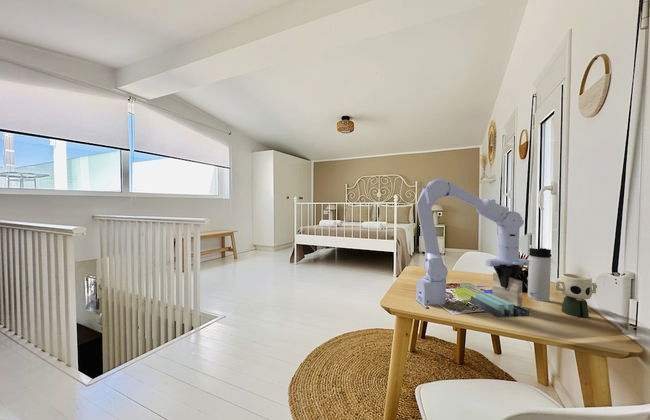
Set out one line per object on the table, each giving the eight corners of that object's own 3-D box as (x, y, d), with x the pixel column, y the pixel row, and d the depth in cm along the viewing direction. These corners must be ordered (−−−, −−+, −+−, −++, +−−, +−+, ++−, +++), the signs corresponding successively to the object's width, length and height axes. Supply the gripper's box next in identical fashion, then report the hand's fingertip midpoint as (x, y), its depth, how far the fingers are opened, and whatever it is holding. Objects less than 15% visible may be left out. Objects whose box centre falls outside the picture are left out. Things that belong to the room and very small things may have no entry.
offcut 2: (507, 313, 81) (508, 304, 81) (484, 301, 91) (484, 293, 91) (513, 313, 81) (513, 304, 81) (489, 301, 91) (489, 293, 91)
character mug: (561, 319, 80) (562, 277, 79) (547, 310, 86) (549, 272, 86) (604, 323, 77) (606, 280, 76) (587, 314, 84) (588, 274, 83)
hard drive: (510, 297, 95) (498, 287, 107) (486, 295, 97) (476, 285, 109) (510, 301, 95) (498, 291, 107) (485, 299, 97) (476, 289, 109)
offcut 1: (498, 314, 80) (498, 305, 80) (475, 302, 90) (476, 293, 90) (504, 314, 81) (504, 304, 80) (481, 301, 90) (481, 293, 90)
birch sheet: (517, 306, 81) (517, 281, 81) (492, 295, 91) (493, 272, 91) (521, 306, 81) (522, 281, 81) (496, 295, 91) (497, 272, 91)
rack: (496, 320, 78) (497, 312, 78) (465, 303, 92) (466, 296, 92) (534, 318, 80) (534, 310, 80) (498, 301, 94) (498, 294, 94)
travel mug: (531, 302, 93) (533, 248, 92) (525, 296, 99) (526, 245, 98) (553, 305, 90) (555, 249, 90) (545, 299, 97) (546, 246, 96)
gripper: (498, 249, 81) (496, 291, 81) (538, 248, 83) (537, 290, 83) (481, 245, 88) (480, 284, 88) (519, 245, 90) (518, 283, 90)
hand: (506, 287), depth 86 cm, fingers closed on birch sheet, 2 cm apart
